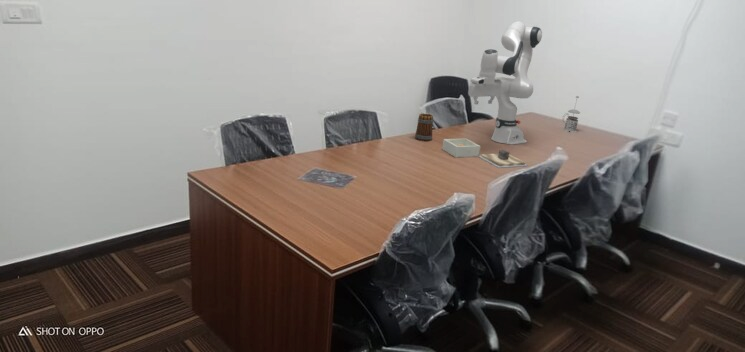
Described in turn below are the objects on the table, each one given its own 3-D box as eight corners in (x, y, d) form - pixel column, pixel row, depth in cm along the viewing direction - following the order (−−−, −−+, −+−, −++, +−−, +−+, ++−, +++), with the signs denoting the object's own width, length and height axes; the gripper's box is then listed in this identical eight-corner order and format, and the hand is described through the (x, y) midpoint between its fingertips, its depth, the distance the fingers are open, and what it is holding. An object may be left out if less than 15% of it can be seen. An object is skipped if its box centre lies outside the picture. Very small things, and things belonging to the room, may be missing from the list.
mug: (431, 142, 300) (434, 117, 295) (413, 140, 302) (416, 115, 297) (433, 135, 314) (436, 112, 309) (416, 133, 316) (419, 110, 311)
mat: (506, 155, 287) (506, 154, 286) (527, 166, 270) (527, 165, 270) (478, 156, 279) (478, 155, 279) (498, 168, 263) (498, 167, 263)
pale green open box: (464, 148, 293) (465, 138, 291) (478, 156, 281) (480, 145, 278) (442, 149, 288) (443, 139, 286) (455, 157, 275) (457, 147, 273)
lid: (506, 155, 285) (507, 146, 283) (525, 164, 271) (526, 155, 269) (480, 156, 279) (482, 147, 277) (499, 166, 264) (500, 157, 262)
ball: (461, 149, 286) (462, 143, 285) (465, 151, 283) (466, 145, 281) (455, 150, 285) (456, 143, 283) (459, 152, 281) (460, 145, 280)
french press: (579, 132, 354) (587, 97, 345) (563, 131, 353) (570, 96, 345) (574, 129, 363) (581, 95, 354) (558, 128, 363) (565, 93, 354)
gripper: (498, 78, 286) (494, 102, 291) (468, 78, 278) (465, 103, 283) (505, 80, 281) (501, 104, 286) (474, 81, 273) (471, 105, 278)
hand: (483, 103), depth 284 cm, fingers open, 8 cm apart
